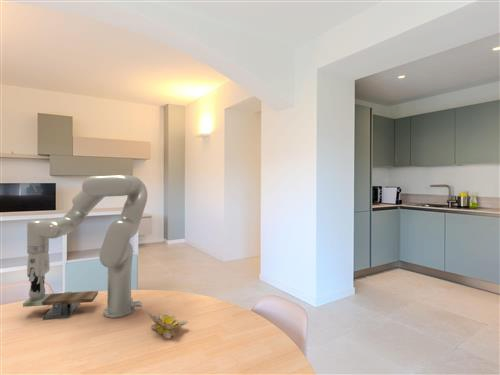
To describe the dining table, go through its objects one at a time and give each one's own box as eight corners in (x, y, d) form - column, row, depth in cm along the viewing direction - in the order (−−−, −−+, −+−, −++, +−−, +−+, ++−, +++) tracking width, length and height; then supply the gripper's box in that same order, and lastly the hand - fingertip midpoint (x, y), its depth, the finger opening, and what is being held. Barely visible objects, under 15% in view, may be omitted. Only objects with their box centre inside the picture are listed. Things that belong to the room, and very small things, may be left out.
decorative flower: (194, 328, 112) (188, 305, 111) (168, 347, 105) (162, 321, 103) (174, 318, 123) (168, 296, 122) (149, 334, 115) (142, 310, 114)
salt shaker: (48, 296, 129) (48, 266, 129) (38, 301, 123) (38, 270, 123) (36, 295, 130) (36, 265, 129) (25, 300, 124) (25, 269, 124)
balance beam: (97, 294, 136) (97, 290, 136) (92, 302, 127) (92, 298, 127) (33, 298, 130) (33, 294, 130) (22, 306, 121) (22, 303, 121)
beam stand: (80, 303, 137) (80, 290, 137) (69, 318, 123) (69, 303, 123) (56, 305, 135) (56, 292, 134) (42, 320, 121) (42, 305, 121)
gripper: (39, 253, 119) (39, 298, 119) (55, 244, 135) (55, 284, 135) (17, 253, 117) (17, 299, 118) (37, 244, 133) (36, 285, 133)
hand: (37, 290), depth 126 cm, fingers open, 3 cm apart
